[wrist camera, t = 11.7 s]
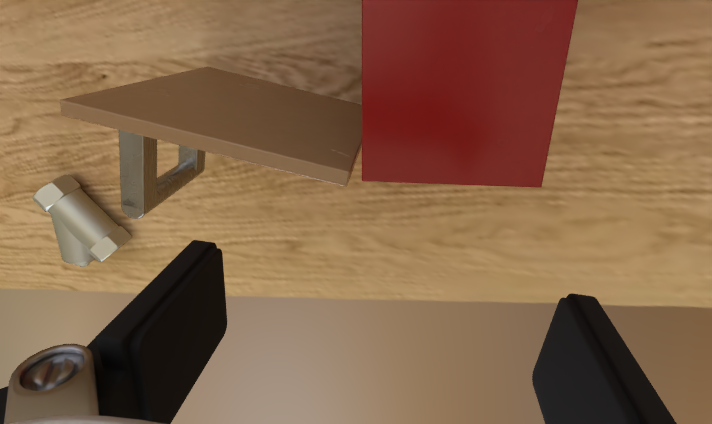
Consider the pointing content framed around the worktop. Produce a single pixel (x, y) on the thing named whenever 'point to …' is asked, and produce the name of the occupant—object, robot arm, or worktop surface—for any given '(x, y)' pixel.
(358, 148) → the cabinet door
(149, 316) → the robot arm
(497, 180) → the valve cabinet
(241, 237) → the worktop surface
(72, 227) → the pipe fitting
